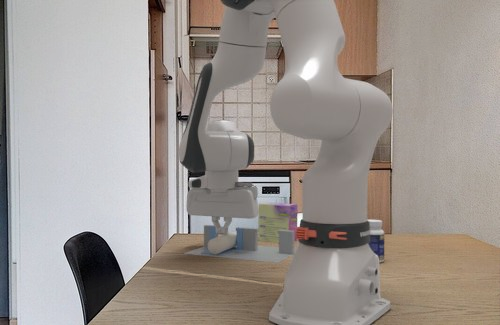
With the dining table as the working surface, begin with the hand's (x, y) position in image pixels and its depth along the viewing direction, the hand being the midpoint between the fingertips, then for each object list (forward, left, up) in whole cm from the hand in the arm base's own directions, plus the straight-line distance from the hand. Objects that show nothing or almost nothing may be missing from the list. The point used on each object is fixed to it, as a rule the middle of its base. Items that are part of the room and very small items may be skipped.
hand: (221, 233), depth 122 cm
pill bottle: (+7, -38, -5) cm, 39 cm away
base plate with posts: (+1, -6, -5) cm, 8 cm away
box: (+20, -8, -5) cm, 22 cm away
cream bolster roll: (-1, 0, -4) cm, 4 cm away
